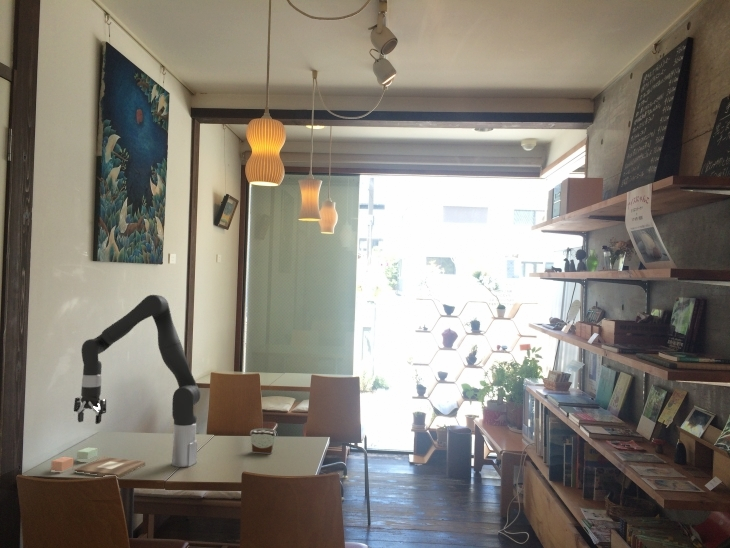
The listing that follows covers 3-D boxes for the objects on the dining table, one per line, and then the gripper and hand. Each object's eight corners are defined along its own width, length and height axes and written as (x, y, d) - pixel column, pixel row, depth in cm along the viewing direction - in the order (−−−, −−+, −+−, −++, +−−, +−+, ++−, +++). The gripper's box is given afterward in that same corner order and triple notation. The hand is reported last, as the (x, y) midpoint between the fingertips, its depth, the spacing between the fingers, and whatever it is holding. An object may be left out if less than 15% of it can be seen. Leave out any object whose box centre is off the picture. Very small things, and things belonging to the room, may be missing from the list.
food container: (278, 450, 251) (279, 428, 251) (274, 454, 245) (275, 432, 245) (253, 448, 252) (253, 427, 253) (248, 452, 246) (249, 430, 246)
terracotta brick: (72, 468, 216) (73, 457, 216) (61, 473, 210) (62, 462, 210) (62, 467, 217) (63, 456, 217) (50, 472, 211) (51, 460, 212)
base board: (144, 465, 223) (145, 461, 223) (118, 478, 206) (118, 474, 207) (103, 460, 227) (103, 456, 227) (74, 473, 211) (74, 469, 211)
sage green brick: (97, 458, 230) (97, 448, 230) (87, 463, 224) (87, 452, 224) (87, 457, 231) (87, 447, 231) (77, 461, 225) (77, 451, 225)
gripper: (111, 384, 231) (109, 422, 230) (83, 382, 234) (81, 419, 233) (99, 387, 224) (97, 426, 223) (70, 385, 227) (68, 423, 226)
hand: (89, 422), depth 228 cm, fingers open, 8 cm apart
